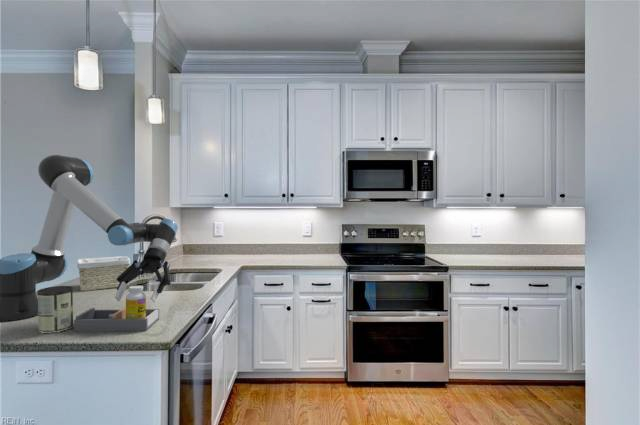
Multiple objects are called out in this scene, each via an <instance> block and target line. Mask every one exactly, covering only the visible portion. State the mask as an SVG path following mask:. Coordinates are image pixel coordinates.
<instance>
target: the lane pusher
mask: <svg viewBox="0 0 640 425" xmlns="http://www.w3.org/2000/svg"><path fill="white" fill-rule="evenodd" d="M109 319H126V306H124V307H122V308H121V310H119V311H118V312H116V313H114V314H109Z"/></svg>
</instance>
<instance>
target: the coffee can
mask: <svg viewBox="0 0 640 425" xmlns="http://www.w3.org/2000/svg"><path fill="white" fill-rule="evenodd" d="M73 290H74V287H73V286H70V285H58V286H57V285H56V286H49V287H44V288H40V289H38V290H36V294H37V298H38V315H37V316H38V319H37V320H38V325H37V326H38V330H39V332H43V333H50V332H58V331H63V330H66V331H68V330H67V329H69V330H71V329H73V328H74V306H73V305H74V304H73V303H74V302H73V300H74V298H73V296H74V294H73V293H74V292H73ZM72 327H73V328H72ZM70 328H71V329H70ZM39 332H38V333H39ZM63 332H64V331H63ZM43 333H42V334H43ZM58 333H59V332H58ZM50 334H51V333H50Z"/></svg>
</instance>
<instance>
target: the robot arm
mask: <svg viewBox="0 0 640 425" xmlns="http://www.w3.org/2000/svg"><path fill="white" fill-rule="evenodd" d="M37 172H38V175H39V177H40V179H41V180H42V182H43V183H44V184H45V185H46V186H47V187H49V189H50V190H52V191H53V193H52V195H51V199H50V202H49V206H48V209H47V213H46V216H45V220H44V224H43V227H42V230H41V233H40V237H39V241H38V244H37V245H35V246H32V248H31V253H29V252H27V253H17V254H9V255H6V256H3V257H1V258H0V322H9V321H8V320H13V321H18V320H17V319H20V320H24V319H23V318H26V319H29V318H28V317H30V318H33V317H32V316H34V317H35V315H36V316H38V295H37V288H36V286H37V285H38V284H42V283H45V282H50V281H53V280H56V279H58V278H60V277H61V276H62V275H64V273H65V272H66V270H67V268H68V260H66V259H67V258H66V255H65V254H66V251H64V249H63V246H64V243H65V239H66V236H67V233H68V229H69V226H70V224H71V222H70V221H71V220H72V216H73V213H74V212H73V211H74V209H75V207H76V208H77V209H79V211H81V212H82V213H83V214H84V215H85V216H86V217H87V218H89V219H90V220H92V222H93V223H94V224H96V225H97V226H98V227H100V229H102V230H103V231H104V232H105V233H106V234H107V239H108V241H109V243H110V244H112V245H113V246H127V245H132V244H136V243H142V242H144V243H145V242H146V243H149V245H148V247H147V249H146V251H145V253H144V255H143V258H142V261H138V260H133V262H132V263H131V264H130V267H129V268H127V269H126V270H125V271H124V272H123V273H122V274H121V275H120V276H119V277H118V278H117V281H118V282H119V283H120V284H119V286H118V287H116V290H117V291H116V292H115V295H114V298H115V299H116V301H117V302H120V301H121V299H122V297H123V296H124V293H125V292H126V289H127V287H128V286H127V285H126V284H127V283H128V284H129V283H130V282H131V281H133V280H135V279H136V278H138V277H139V276H141V275H143V274H155V276H156V278H157V279H158V282H157V283H156V285H155V287H154V289H153V292H152V295H151V296H150V300H151V301H152V302H153V303H157V299H158V297H159V295H160V294H162V293H163V290H164V287H165V286H170V285H171V277H170V267H171V266H170V263H169V261H167V260H166V257H167V255H168V253H169V250H170V249H171V248H170V247H171V245H172V243H173V241H174V239H175V237H176V235H177V232H178V228H179V227H178V226H179V225H178V223H177V222H175V220H172V219H170V218H164V219H161V220H160V222H159V223H145V222H143V223H140V222H130V223H128V222H127V221H125V220H124V219H123V218H122V217H121V216H120V215H119V214H117V213H116V212H115V211H113V209H111V208H110V207H109V206H108V205H107V204H105V203H104V201H102V200H101V199H100V198H99V197H98V196H96V195H95V194H94V192H92V191H91V190H89V189H88V187H87V186H88V185H90V184H91V183H92V181H93V179H94V170H93V168H92V166H91V164H90V163H89V162H88V161H86V160H84V159H81V158H78V157H73V156H65V155H60V154H52V155H47V156H46V157H44V158H43V159H42V160H41V161H40V162H39V165H38V170H37ZM162 268H163V274H164V276H163V277H164V279H163V277H162V275H161V272H160V271H159V270H160V269H162ZM125 280H126V281H125Z"/></svg>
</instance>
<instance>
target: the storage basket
mask: <svg viewBox="0 0 640 425" xmlns="http://www.w3.org/2000/svg"><path fill="white" fill-rule="evenodd" d="M76 264H77V269H78V274H79V283H80V284H79V285H80V286H79V287H80V288H79V289H80V291H81V292H89V291H95V290H97V291H99V290H105V289H107V290H108V289H115V288H118V286H119V284H120V283H119V282H118V281H117V278H118V277H119V276H120V275H121V274H122V273H123V272H124V271H125V270H126V269H127V268H129V267H130V266H131V258H129V257H128V256H127V255H122V256H105V257H89V258H87V257H86V258H78V259H77V260H76ZM125 281H126V280H125ZM126 285H127V287H128V286H129V283H127V284H126Z"/></svg>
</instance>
